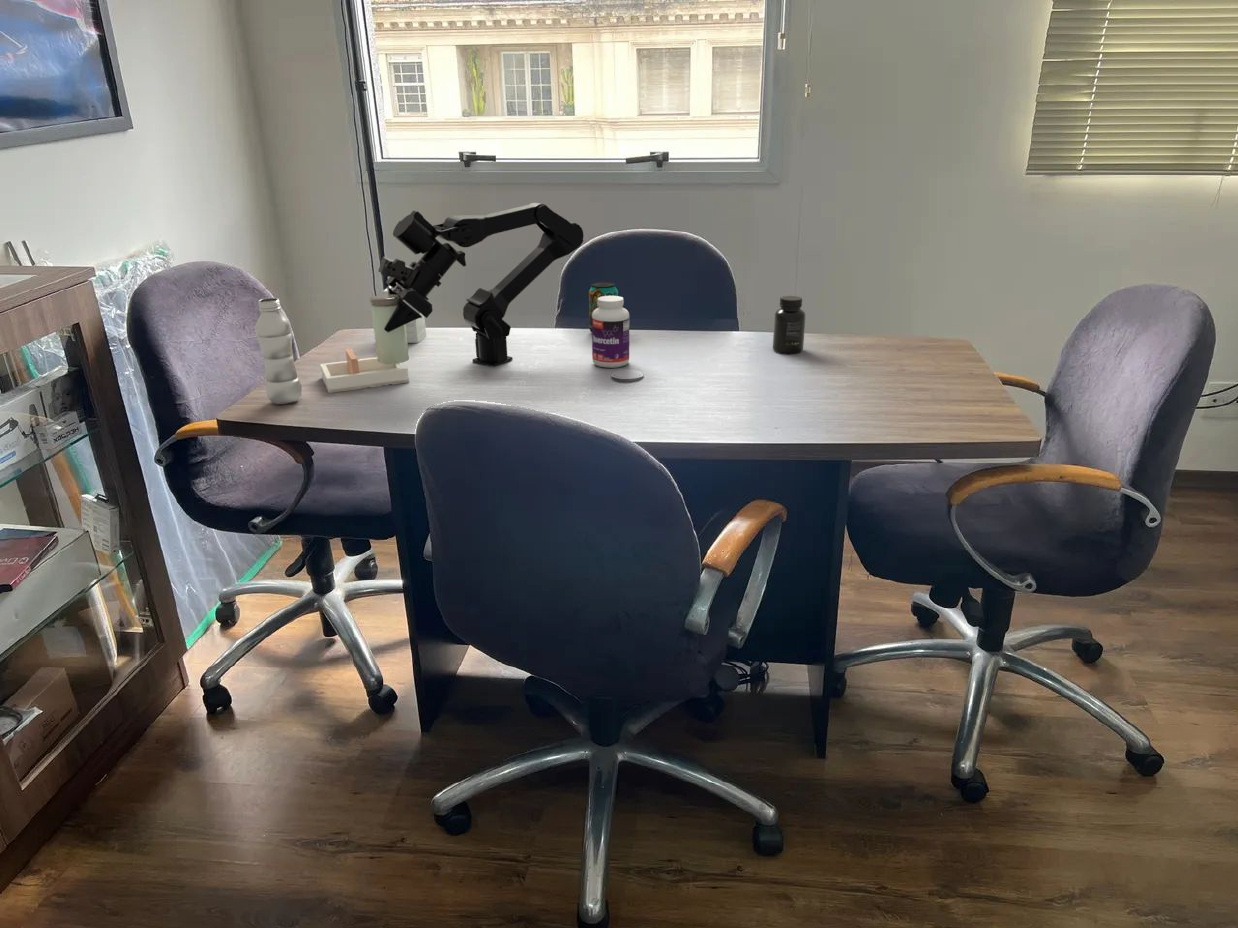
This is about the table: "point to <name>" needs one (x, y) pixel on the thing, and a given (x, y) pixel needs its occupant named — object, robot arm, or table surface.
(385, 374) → the white rectangular tray
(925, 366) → the table surface
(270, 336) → the plastic bottle
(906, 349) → the table surface
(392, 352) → the ceramic jar
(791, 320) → the supplement bottle
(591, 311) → the beverage can
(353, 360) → the pusher paddle
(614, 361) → the pill bottle
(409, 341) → the supplement box
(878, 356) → the table surface
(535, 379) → the table surface
